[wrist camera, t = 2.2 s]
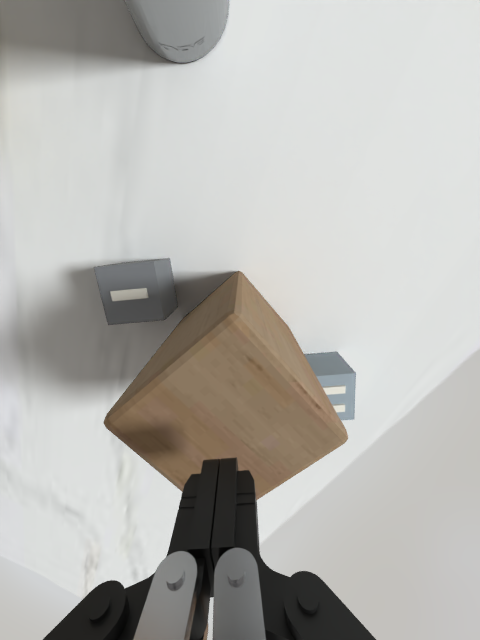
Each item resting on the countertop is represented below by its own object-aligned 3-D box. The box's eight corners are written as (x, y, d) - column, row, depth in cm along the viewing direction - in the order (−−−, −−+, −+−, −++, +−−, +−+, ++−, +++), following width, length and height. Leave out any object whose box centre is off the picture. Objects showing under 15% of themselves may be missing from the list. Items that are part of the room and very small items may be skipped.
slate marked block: (291, 355, 35) (301, 378, 29) (336, 351, 34) (356, 374, 28) (293, 394, 36) (303, 424, 30) (336, 391, 36) (355, 420, 30)
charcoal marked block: (121, 263, 31) (92, 267, 25) (170, 258, 31) (152, 261, 25) (131, 310, 33) (106, 325, 27) (177, 306, 33) (163, 320, 27)
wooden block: (232, 373, 35) (219, 528, 16) (180, 320, 33) (96, 425, 14) (290, 328, 33) (354, 442, 14) (239, 268, 31) (234, 308, 12)
